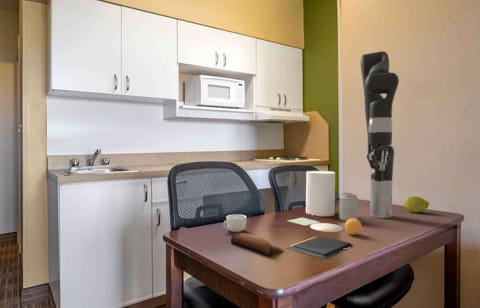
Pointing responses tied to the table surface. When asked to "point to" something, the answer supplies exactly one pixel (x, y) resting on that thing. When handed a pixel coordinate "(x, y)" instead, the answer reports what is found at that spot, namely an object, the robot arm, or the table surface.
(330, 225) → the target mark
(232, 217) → the teacup
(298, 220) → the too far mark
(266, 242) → the sunglasses case
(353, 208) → the can
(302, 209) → the table surface
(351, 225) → the ball
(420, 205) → the lemon
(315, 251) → the wallet
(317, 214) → the canister
